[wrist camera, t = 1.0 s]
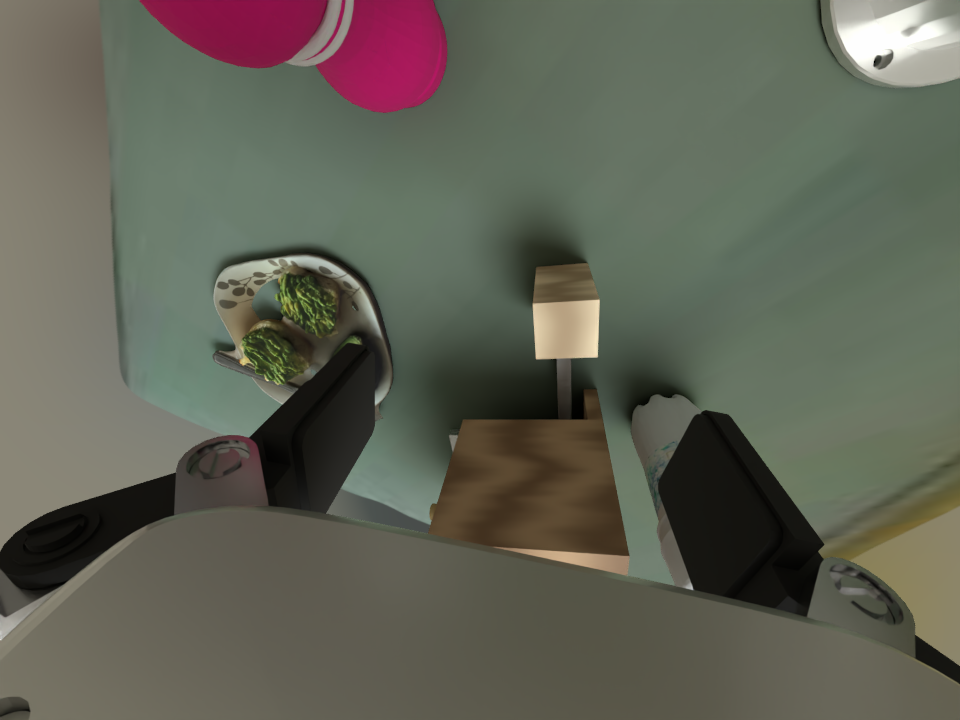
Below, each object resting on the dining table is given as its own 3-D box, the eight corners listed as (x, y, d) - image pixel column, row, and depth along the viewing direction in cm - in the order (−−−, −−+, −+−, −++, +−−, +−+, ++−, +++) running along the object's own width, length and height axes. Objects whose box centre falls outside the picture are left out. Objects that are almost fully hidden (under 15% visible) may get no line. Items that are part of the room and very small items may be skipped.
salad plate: (256, 410, 44) (228, 436, 40) (180, 260, 35) (134, 275, 32) (410, 411, 40) (395, 440, 36) (367, 244, 32) (342, 258, 28)
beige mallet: (587, 262, 29) (599, 299, 22) (584, 474, 40) (591, 541, 34) (536, 266, 30) (532, 303, 23) (546, 473, 41) (546, 538, 34)
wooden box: (596, 389, 35) (629, 556, 21) (593, 492, 42) (616, 671, 28) (458, 391, 37) (404, 540, 23) (476, 488, 44) (442, 649, 30)
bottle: (709, 430, 35) (859, 701, 18) (636, 448, 38) (709, 702, 21) (691, 375, 33) (847, 629, 16) (614, 398, 35) (677, 640, 18)
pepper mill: (398, 140, 27) (141, 136, 10) (326, 37, 25) (-172, -198, 8) (477, 64, 24) (305, -126, 7) (405, -61, 22) (-121, -807, 5)
